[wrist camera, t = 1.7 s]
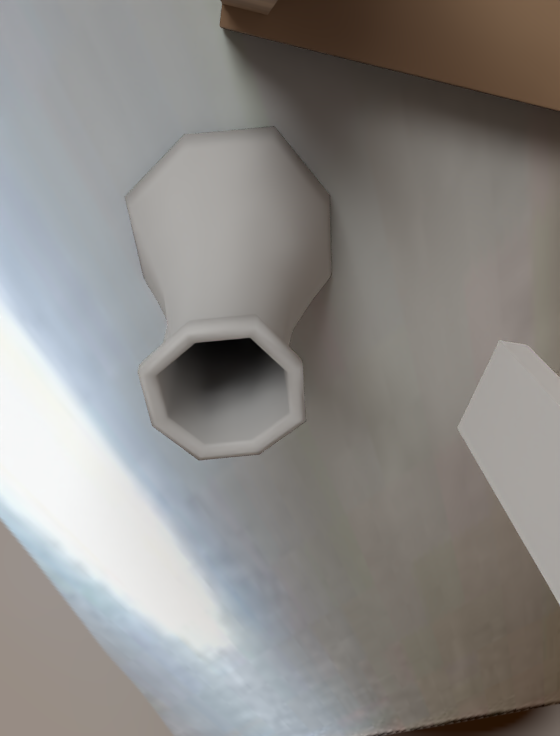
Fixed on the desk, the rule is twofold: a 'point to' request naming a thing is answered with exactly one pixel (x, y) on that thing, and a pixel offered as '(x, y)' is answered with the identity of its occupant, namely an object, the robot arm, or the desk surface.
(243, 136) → the flask
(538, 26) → the rack
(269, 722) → the desk surface
